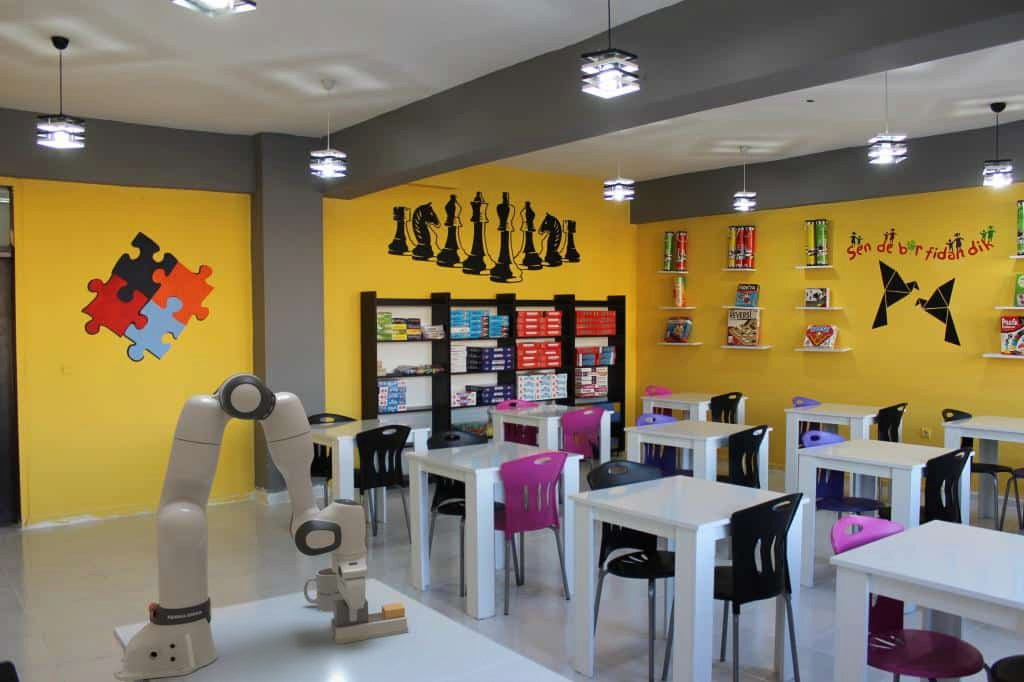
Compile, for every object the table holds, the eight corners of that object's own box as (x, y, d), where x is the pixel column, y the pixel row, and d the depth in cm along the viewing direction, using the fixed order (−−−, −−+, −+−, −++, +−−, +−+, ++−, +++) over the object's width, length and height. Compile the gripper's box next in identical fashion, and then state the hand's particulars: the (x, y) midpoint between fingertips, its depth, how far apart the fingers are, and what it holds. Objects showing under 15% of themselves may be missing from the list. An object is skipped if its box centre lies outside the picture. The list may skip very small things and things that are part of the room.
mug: (353, 602, 234) (352, 567, 234) (340, 612, 226) (338, 576, 226) (314, 600, 237) (313, 566, 237) (299, 610, 229) (298, 574, 229)
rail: (336, 643, 202) (336, 621, 202) (330, 630, 211) (330, 609, 211) (407, 632, 208) (407, 611, 208) (398, 620, 218) (398, 599, 218)
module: (337, 630, 205) (336, 606, 205) (333, 624, 209) (333, 600, 209) (368, 625, 207) (367, 602, 207) (364, 619, 212) (364, 596, 212)
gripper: (330, 554, 217) (332, 606, 217) (343, 574, 198) (344, 631, 198) (354, 551, 219) (355, 603, 219) (369, 571, 200) (370, 627, 200)
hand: (350, 616), depth 208 cm, fingers closed on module, 5 cm apart
